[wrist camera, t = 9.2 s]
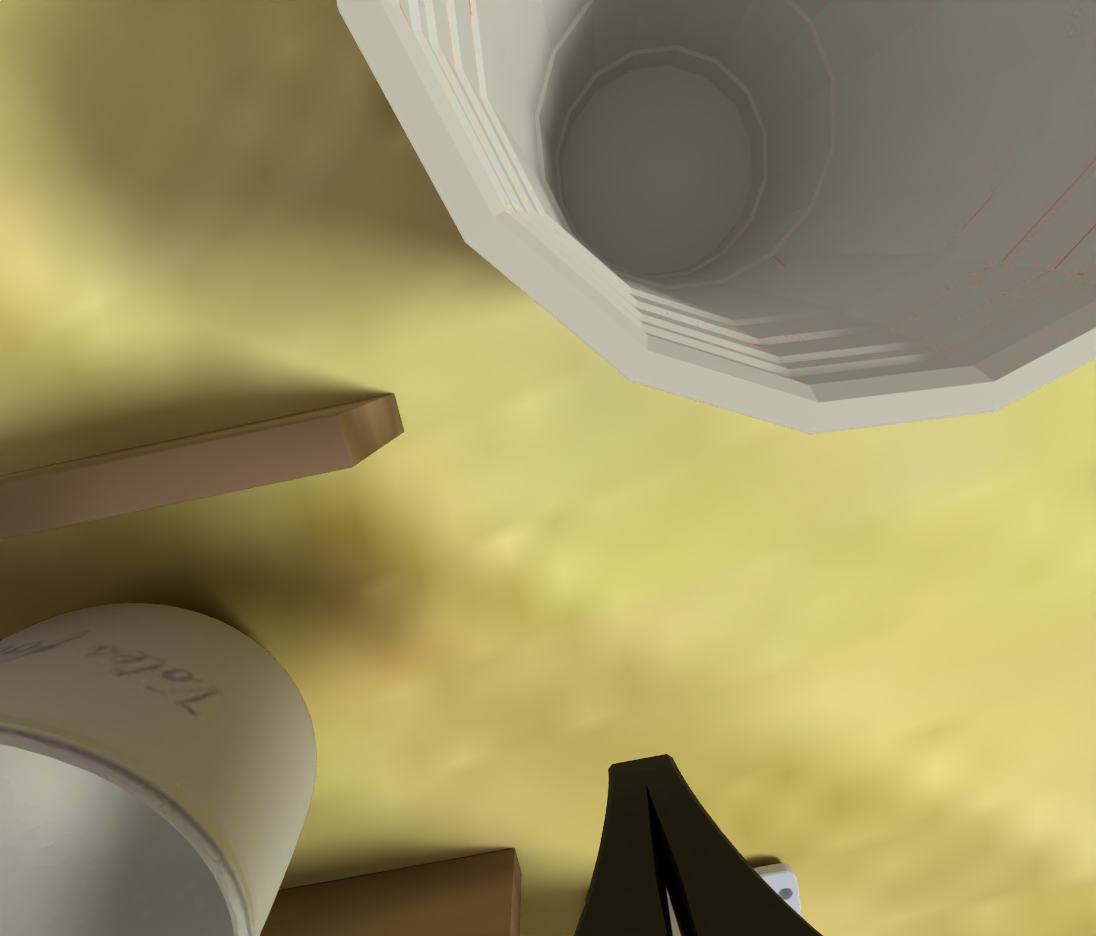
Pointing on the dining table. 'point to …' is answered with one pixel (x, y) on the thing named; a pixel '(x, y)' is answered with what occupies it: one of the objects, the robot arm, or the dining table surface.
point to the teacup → (146, 775)
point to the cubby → (241, 463)
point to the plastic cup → (772, 187)
